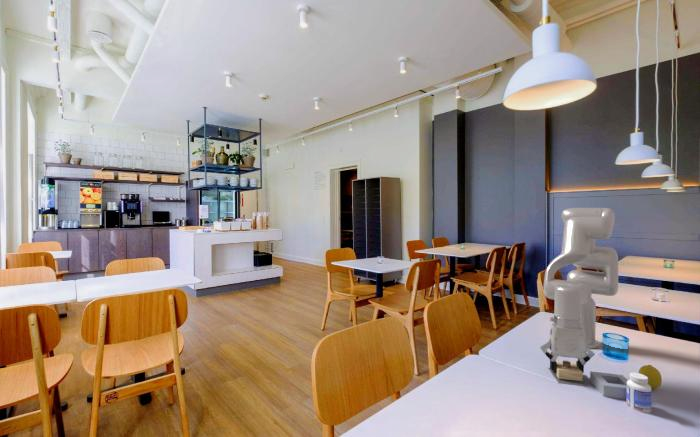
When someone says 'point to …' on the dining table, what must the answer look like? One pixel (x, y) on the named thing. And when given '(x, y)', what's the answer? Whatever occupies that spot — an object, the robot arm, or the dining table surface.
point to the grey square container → (609, 384)
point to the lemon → (651, 376)
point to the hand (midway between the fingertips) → (566, 372)
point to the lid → (568, 371)
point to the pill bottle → (639, 393)
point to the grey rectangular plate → (565, 381)
